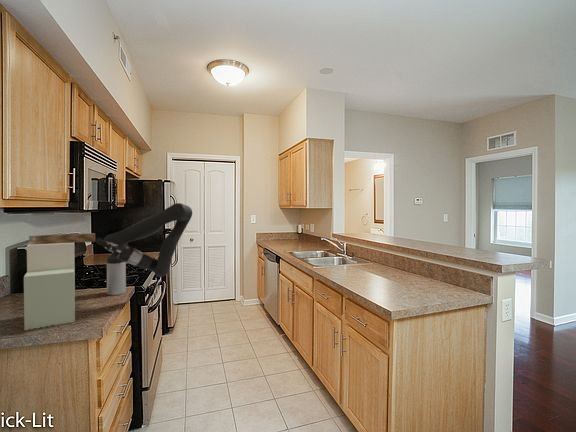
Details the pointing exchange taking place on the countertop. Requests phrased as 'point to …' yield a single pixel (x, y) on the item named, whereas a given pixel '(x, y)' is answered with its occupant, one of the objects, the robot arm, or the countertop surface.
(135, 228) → the robot arm
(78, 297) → the countertop surface
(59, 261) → the stepped stand
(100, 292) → the countertop surface
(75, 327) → the countertop surface
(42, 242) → the walnut block
